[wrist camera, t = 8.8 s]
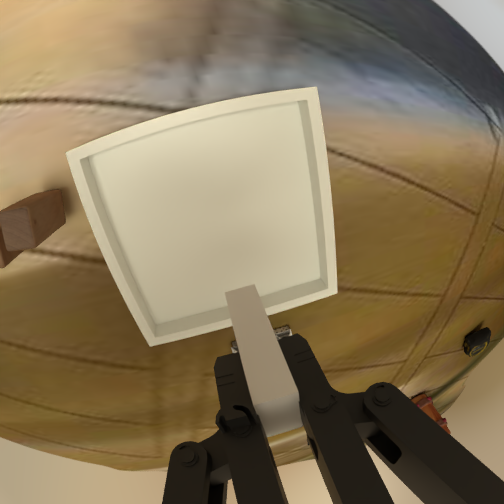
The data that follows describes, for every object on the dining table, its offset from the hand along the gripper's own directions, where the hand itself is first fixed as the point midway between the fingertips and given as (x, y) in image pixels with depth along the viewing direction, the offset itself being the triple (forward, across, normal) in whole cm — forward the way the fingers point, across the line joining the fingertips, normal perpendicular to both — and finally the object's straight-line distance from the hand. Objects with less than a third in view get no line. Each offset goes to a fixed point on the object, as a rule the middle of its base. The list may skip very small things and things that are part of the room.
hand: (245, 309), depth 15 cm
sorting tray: (+13, 0, 0) cm, 13 cm away
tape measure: (+13, +49, -38) cm, 63 cm away
